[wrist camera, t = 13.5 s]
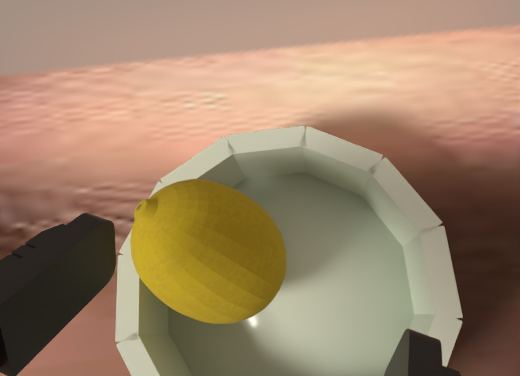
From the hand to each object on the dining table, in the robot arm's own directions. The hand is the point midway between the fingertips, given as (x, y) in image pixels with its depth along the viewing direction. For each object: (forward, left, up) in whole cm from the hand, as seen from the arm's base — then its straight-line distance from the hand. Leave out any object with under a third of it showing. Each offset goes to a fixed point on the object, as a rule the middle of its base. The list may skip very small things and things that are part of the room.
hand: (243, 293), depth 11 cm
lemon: (0, 0, -10) cm, 10 cm away
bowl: (0, +1, -11) cm, 11 cm away
